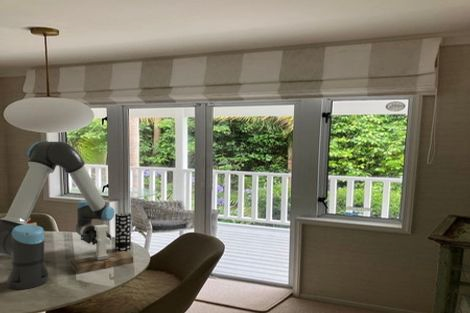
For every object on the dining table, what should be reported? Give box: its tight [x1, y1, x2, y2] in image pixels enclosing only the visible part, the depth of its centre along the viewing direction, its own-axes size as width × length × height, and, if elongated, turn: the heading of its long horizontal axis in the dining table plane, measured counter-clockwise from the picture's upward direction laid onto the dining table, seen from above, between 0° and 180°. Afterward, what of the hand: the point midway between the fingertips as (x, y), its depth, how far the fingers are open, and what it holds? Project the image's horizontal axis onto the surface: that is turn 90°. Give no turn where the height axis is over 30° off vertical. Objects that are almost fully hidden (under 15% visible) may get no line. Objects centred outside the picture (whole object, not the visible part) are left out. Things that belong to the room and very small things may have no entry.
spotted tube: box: [114, 212, 132, 253], centre depth 194 cm, size 8×8×20 cm
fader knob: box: [93, 224, 109, 260], centre depth 169 cm, size 5×6×16 cm
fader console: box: [70, 251, 134, 275], centre depth 169 cm, size 26×12×3 cm, turn 129°
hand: (105, 242), depth 165 cm, fingers closed on fader knob, 4 cm apart
